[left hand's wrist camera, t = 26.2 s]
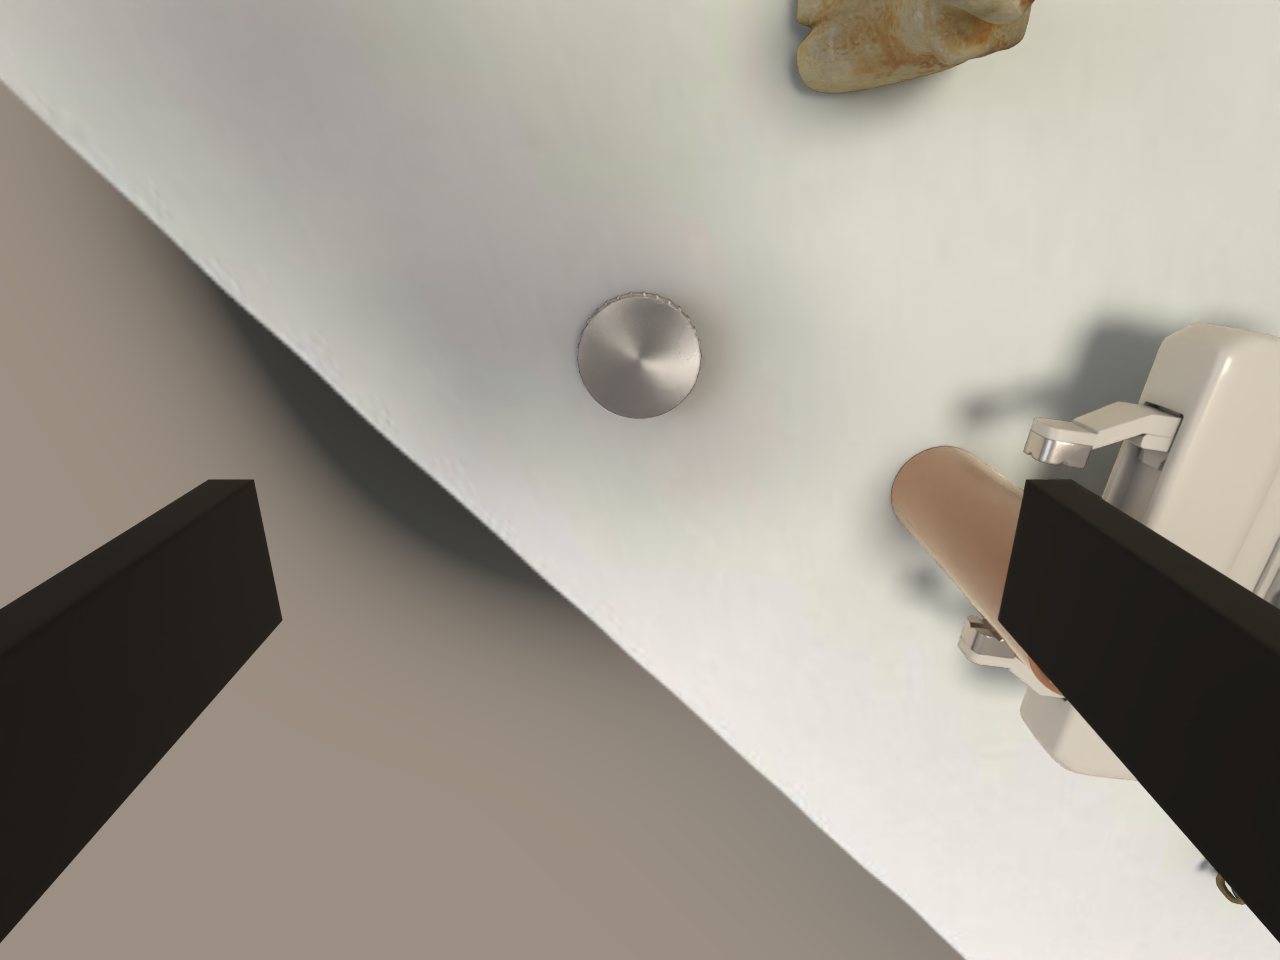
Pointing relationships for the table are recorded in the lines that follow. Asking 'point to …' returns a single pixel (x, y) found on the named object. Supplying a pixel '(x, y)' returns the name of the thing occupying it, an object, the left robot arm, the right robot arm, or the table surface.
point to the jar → (964, 527)
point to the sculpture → (900, 38)
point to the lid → (639, 355)
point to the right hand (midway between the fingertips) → (999, 544)
